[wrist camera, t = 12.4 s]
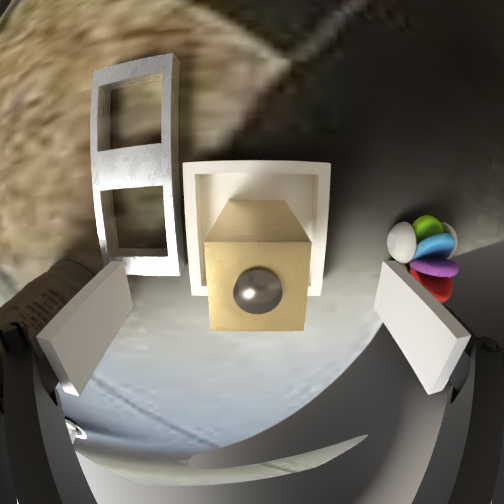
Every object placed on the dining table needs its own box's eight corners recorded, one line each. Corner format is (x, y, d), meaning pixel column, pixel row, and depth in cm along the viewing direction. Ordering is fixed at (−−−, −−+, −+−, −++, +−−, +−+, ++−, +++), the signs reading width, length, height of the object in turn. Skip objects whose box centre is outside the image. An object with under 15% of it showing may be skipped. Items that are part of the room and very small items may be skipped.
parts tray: (189, 161, 23) (182, 162, 21) (323, 162, 23) (330, 163, 21) (196, 283, 27) (191, 295, 25) (315, 283, 27) (320, 295, 25)
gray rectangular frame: (105, 76, 20) (93, 71, 18) (180, 61, 20) (172, 53, 18) (115, 264, 27) (105, 273, 24) (185, 265, 27) (179, 275, 24)
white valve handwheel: (64, 412, 40) (56, 425, 36) (93, 433, 41) (87, 447, 38) (55, 419, 42) (49, 431, 38) (81, 439, 44) (76, 451, 40)
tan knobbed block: (228, 199, 24) (202, 244, 12) (284, 200, 24) (313, 244, 12) (229, 253, 26) (210, 333, 14) (283, 253, 26) (304, 333, 14)
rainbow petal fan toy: (372, 295, 28) (399, 333, 21) (385, 208, 25) (424, 228, 18) (430, 290, 28) (462, 322, 21) (446, 212, 25) (487, 231, 18)
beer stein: (49, 241, 26) (-65, 335, 8) (118, 276, 27) (13, 416, 9) (52, 326, 32) (-15, 417, 14) (109, 358, 33) (53, 468, 15)
